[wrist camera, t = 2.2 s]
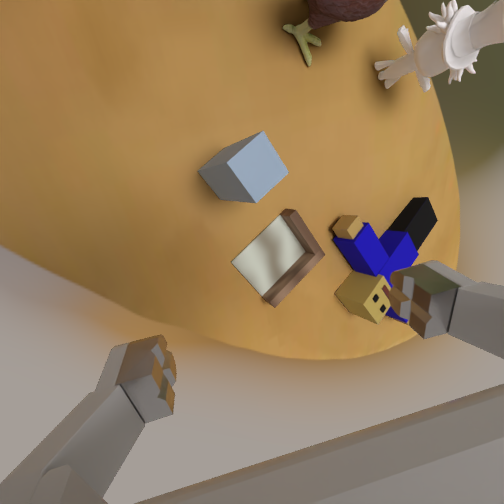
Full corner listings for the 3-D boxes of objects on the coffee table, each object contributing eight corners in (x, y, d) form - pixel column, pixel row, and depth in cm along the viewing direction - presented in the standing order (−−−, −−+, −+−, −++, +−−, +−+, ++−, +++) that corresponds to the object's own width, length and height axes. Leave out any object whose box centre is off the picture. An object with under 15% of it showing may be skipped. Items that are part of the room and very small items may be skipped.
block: (220, 199, 38) (256, 203, 27) (197, 171, 35) (226, 162, 25) (244, 177, 38) (289, 172, 28) (223, 148, 36) (263, 130, 26)
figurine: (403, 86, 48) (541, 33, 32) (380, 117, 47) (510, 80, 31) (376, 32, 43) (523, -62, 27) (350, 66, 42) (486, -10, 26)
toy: (461, 257, 59) (401, 355, 53) (429, 252, 65) (372, 340, 59) (419, 147, 46) (332, 262, 40) (383, 154, 52) (303, 255, 46)
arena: (266, 301, 45) (274, 308, 42) (230, 261, 40) (237, 266, 38) (314, 251, 47) (325, 254, 44) (285, 208, 42) (295, 209, 40)
